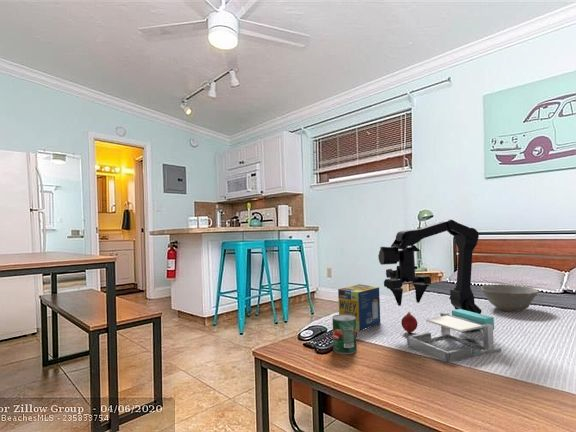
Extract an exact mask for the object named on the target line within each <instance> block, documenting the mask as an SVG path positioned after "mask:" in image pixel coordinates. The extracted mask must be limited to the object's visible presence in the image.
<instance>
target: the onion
mask: <svg viewBox="0 0 576 432" xmlns="http://www.w3.org/2000/svg"><path fill="white" fill-rule="evenodd" d="M400 323H401V327H402V328H403V330H404V331H405V332H407V333H408V334H412V333H413V332H414V331H415V330H416V329H417V328H418V320H417V319H416V317H415V316H414V315H412V314H411V311H408V312H407V314H405V315H404V316H403V317H402V319H401V321H400Z"/></svg>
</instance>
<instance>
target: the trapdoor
mask: <svg viewBox="0 0 576 432" xmlns="http://www.w3.org/2000/svg"><path fill="white" fill-rule="evenodd" d="M494 319H495V318H494V317H493V316H490V315H485V314H482V313H481V314H478V313H474V312H470V311H466V310H462V309H456V310H455V309H452V310H451V314H450V313H449V314H447V315H446V316H441V315H440V316H435V317H431V318H427V319H425V322H426V323H427V322H428V323H431V324H433V325H437V326H440V327H441V326H443V327H446V328H449V329H450V330H453V331H454V332H455V331H456V332H457V333H458V332H459V333H462V332H468V330H473V329H480V330H479V331H483V327H482V325H483V324H491V325H493V331H494V330H495V321H494Z"/></svg>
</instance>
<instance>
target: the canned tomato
mask: <svg viewBox="0 0 576 432" xmlns="http://www.w3.org/2000/svg"><path fill="white" fill-rule="evenodd" d="M331 319H332V340H333V341H332V342H333V343H332V347H333V349H332V350H333V352H335V353H336V354H340V355H341V354H342V355H351V354H352V355H353V354H355V353H356V352H357V350H358V349H357V348H358V346H357V331H356V317H355V316H353V315H348V314H339V313H338V314H334V315H333V316H332V318H331Z"/></svg>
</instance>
